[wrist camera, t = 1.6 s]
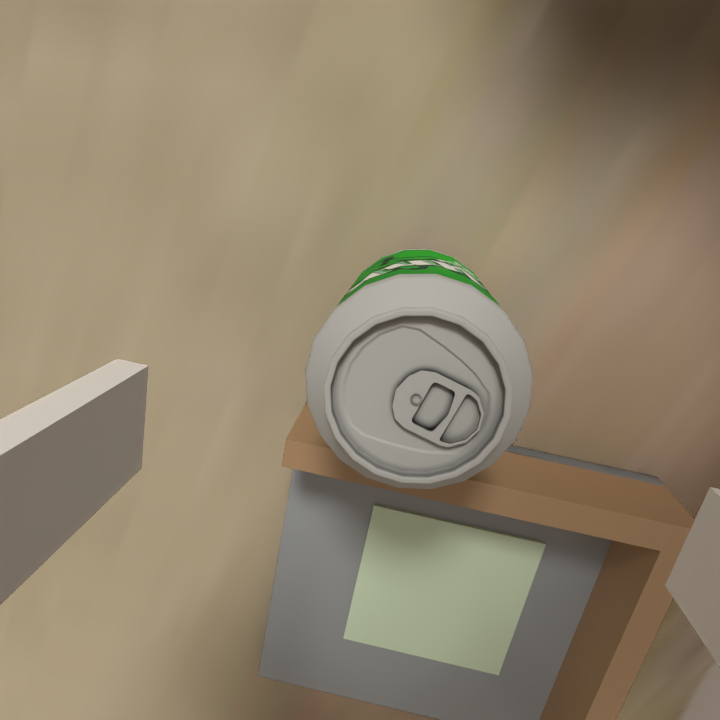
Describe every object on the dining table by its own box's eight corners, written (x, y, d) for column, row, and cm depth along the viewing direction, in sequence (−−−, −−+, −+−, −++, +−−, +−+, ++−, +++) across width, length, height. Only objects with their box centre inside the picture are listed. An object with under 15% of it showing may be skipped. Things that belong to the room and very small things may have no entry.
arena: (307, 400, 29) (286, 439, 25) (656, 476, 29) (704, 532, 24) (262, 663, 36) (238, 734, 31) (548, 732, 35) (570, 816, 30)
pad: (374, 503, 30) (373, 505, 30) (545, 542, 29) (546, 544, 29) (343, 635, 33) (343, 638, 33) (497, 672, 32) (498, 675, 32)
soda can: (444, 406, 29) (463, 542, 17) (323, 346, 28) (261, 444, 17) (515, 287, 26) (591, 352, 15) (384, 220, 26) (360, 234, 15)
